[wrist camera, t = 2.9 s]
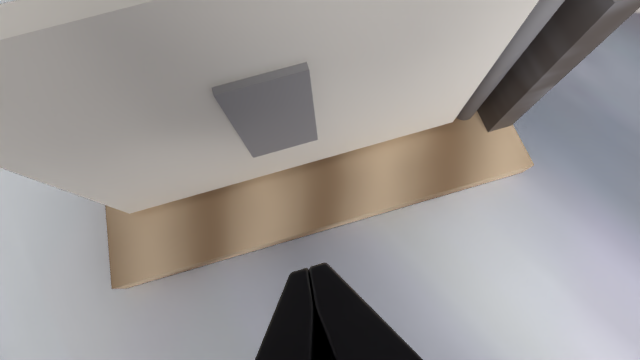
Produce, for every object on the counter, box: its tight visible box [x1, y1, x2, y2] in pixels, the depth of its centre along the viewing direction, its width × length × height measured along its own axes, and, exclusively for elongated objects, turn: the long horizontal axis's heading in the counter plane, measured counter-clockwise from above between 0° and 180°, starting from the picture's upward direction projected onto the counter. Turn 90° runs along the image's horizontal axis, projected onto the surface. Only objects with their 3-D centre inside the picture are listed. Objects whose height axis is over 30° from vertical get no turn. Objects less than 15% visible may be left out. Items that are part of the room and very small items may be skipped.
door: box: [0, 0, 565, 214], centre depth 13 cm, size 20×1×11 cm, turn 106°
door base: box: [105, 0, 640, 289], centre depth 15 cm, size 23×8×10 cm, turn 106°
